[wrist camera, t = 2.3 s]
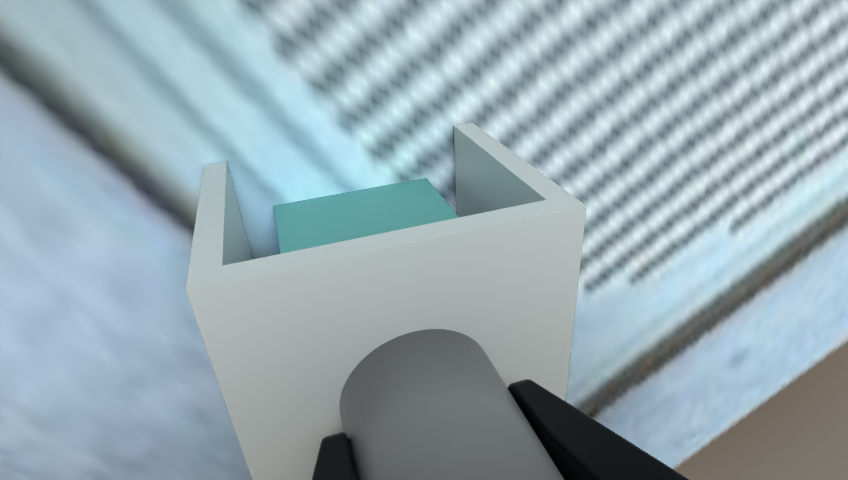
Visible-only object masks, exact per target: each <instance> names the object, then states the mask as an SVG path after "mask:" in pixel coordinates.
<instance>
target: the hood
mask: <svg viewBox="0 0 848 480" xmlns="http://www.w3.org/2000/svg"><path fill="white" fill-rule="evenodd" d="M454 154H455V184H456V214H457V215H458V217H459V218H454V219H449V220H445V221H440V222H435V223H430V224H425V225H420V226H415V227H410V228H405V229H400V230H395V231H390V232H385V233H381V234H376V235H371V236H366V237H361V238H356V239H351V240H346V241H341V242H336V243H331V244H326V245H322V246H317V247H312V248H307V249H302V250H297V251H292V252H287V253H282V254H277V255H272V256H267V257H262V258H258V259H252V256H251V252H250V248H249V244H248V241H247V237H246V233H245V229H244V225H243V222H242V218H241V214H240V210H239V207H238V203H237V199H236V195H235V191H234V188H233V184H232V180H231V176H230V173H229V169H228V165H227V161H226V162H220V163H213V164H207V165H204V168H203V174H202V181H201V188H200V195H199V202H198V208H197V215H196V222H195V229H194V236H193V243H192V249H191V256H190V263H189V270H188V277H187V283H186V293H187V296H188V299H189V302H190V305H191V307H192V310H193V313H194V316H195V319H196V322H197V324H198V327H199V330H200V333H201V336H202V339H203V341H204V344H205V347H206V350H207V353H208V356H209V358H210V361H211V364H212V367H213V370H214V373H215V375H216V378H217V381H218V384H219V387H220V390H221V392H222V395H223V398H224V401H225V404H226V407H227V409H228V412H229V415H230V418H231V421H232V424H233V426H234V429H235V432H236V435H237V438H238V441H239V443H240V446H241V449H242V452H243V455H244V458H245V461H246V463H247V466H248V469H249V472H250V475H251V478H252V480H312V476H313V472H314V468H315V464H316V460H317V456H318V452H319V448H320V444H321V441H322V439H323V438H324V437H326V436H329V435H333V434H336V433H340V432H345V433H346V434H347V437H348V441H349V446H350V450H351V454H352V458H353V463H354V467H355V471H356V475H357V480H564V478H563V477H562V475H561V474H560V472H559V470H558V469H557V467H556V466H555V464H554V462H553V461H552V459H551V457H550V456H549V454H548V453H547V451H546V449H545V448H544V446H543V445H542V443H541V441H540V440H539V438H538V437H537V435H536V433H535V432H534V430H533V428H532V427H531V425H530V424H529V422H528V420H527V419H526V417H525V416H524V414H523V412H522V411H521V409H520V408H519V406H518V404H517V403H516V401H515V400H514V398H513V396H512V395H511V393H510V391H509V390H508V386H509V384H511V383H514V382H517V381H521V380H524V379H529V380H532V381H534V382H535V383H537V384H539V385H540V386H542V387H543V388H545V389H547V390H548V391H550V392H551V393H553V394H554V395H556V396H558V397H559V398H561V399H562V400H564V401H566V393H567V384H568V374H569V365H570V356H571V346H572V337H573V327H574V318H575V309H576V299H577V290H578V280H579V271H580V262H581V252H582V243H583V233H584V224H585V215H586V205H584V204H583V203H582V202H580V201H579V200H578V199H576V198H575V197H573V196H572V195H571V194H569V193H568V192H567V191H565V190H564V189H562V188H561V187H560V186H558V185H557V184H556V183H554V182H553V181H551V180H550V179H549V178H547V177H546V176H545V175H543V174H542V173H540V172H539V171H538V170H536V169H535V168H534V167H532V166H531V165H530V164H528V163H527V162H525V161H524V160H523V159H521V158H520V157H519V156H517V155H516V154H514V153H513V152H512V151H510V150H509V149H508V148H506V147H505V146H503V145H502V144H501V143H499V142H498V141H497V140H495V139H494V138H492V137H491V136H490V135H488V134H487V133H486V132H484V131H483V130H482V129H480V128H479V127H477V126H476V125H475V124H473V123H472V122H471V123H465V124H458V125H454Z"/></svg>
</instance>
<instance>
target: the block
mask: <svg viewBox="0 0 848 480" xmlns="http://www.w3.org/2000/svg"><path fill="white" fill-rule="evenodd" d="M273 208H274V215H275V221H276V228H277V235H278V242H279V249H280V254H282V253H287V252H292V251H297V250H302V249H307V248H312V247H317V246H322V245H326V244H331V243H336V242H341V241H346V240H351V239H356V238H361V237H366V236H371V235H376V234H381V233H385V232H390V231H395V230H400V229H405V228H410V227H415V226H420V225H425V224H430V223H435V222H440V221H445V220H449V219H454V218H459V217H458V215H457V214H456V213H455V212H454V211H453V209H452V208H451V207H450V206H449V205H448V203H447V202H446V201H445V200H444V199H443V197H442V196H441V195H440V194H439V193H438V191H437V190H436V189H435V188H434V187H433V185H432V184H431V183H430V182H429V181H428V179H427V178H424V179H418V180H413V181H407V182H402V183H396V184H391V185H385V186H380V187H374V188H369V189H363V190H358V191H352V192H347V193H341V194H336V195H330V196H325V197H319V198H314V199H308V200H303V201H297V202H292V203H286V204H281V205H275V206H273Z"/></svg>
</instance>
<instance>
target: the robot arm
mask: <svg viewBox="0 0 848 480" xmlns="http://www.w3.org/2000/svg"><path fill="white" fill-rule="evenodd" d="M508 390H509V391H510V393H511V395H512V396H513V398H514V400H515V401H516V403H517V404H518V406H519V408H520V409H521V411H522V412H523V414H524V416H525V417H526V419H527V420H528V422H529V424H530V425H531V427H532V428H533V430H534V432H535V433H536V435H537V437H538V438H539V440H540V441H541V443H542V445H543V446H544V448H545V449H546V451H547V453H548V454H549V456H550V457H551V459H552V461H553V462H554V464H555V466H556V467H557V469H558V470H559V472H560V474H561V475H562V477H563V478H564V480H689V479H687V478H686V477H684V476H683V475H681V474H679V473H678V472H676V471H675V470H673V469H671V468H670V467H668V466H667V465H665V464H664V463H662V462H660V461H659V460H657V459H656V458H654V457H653V456H651V455H649V454H648V453H646V452H645V451H643V450H641V449H640V448H638V447H637V446H635V445H634V444H632V443H630V442H629V441H627V440H626V439H624V438H622V437H621V436H619V435H618V434H616V433H615V432H613V431H611V430H610V429H608V428H607V427H605V426H603V425H602V424H600V423H599V422H597V421H596V420H594V419H592V418H591V417H589V416H588V415H586V414H584V413H583V412H581V411H580V410H578V409H577V408H575V407H573V406H572V405H570V404H569V403H567V402H566V401H564V400H562V399H561V398H559V397H558V396H556V395H554V394H553V393H551V392H550V391H548V390H547V389H545V388H543V387H542V386H540V385H539V384H537V383H535V382H534V381H532V380H529V379H524V380H521V381H517V382H514V383H511V384H509V386H508ZM312 480H357V475H356V471H355V467H354V463H353V458H352V454H351V450H350V446H349V441H348V437H347V434H346V433H345V432H340V433H336V434H333V435H329V436H326V437H324V438H323V439H322V441H321V444H320V448H319V452H318V456H317V460H316V464H315V468H314V472H313V476H312Z"/></svg>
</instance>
